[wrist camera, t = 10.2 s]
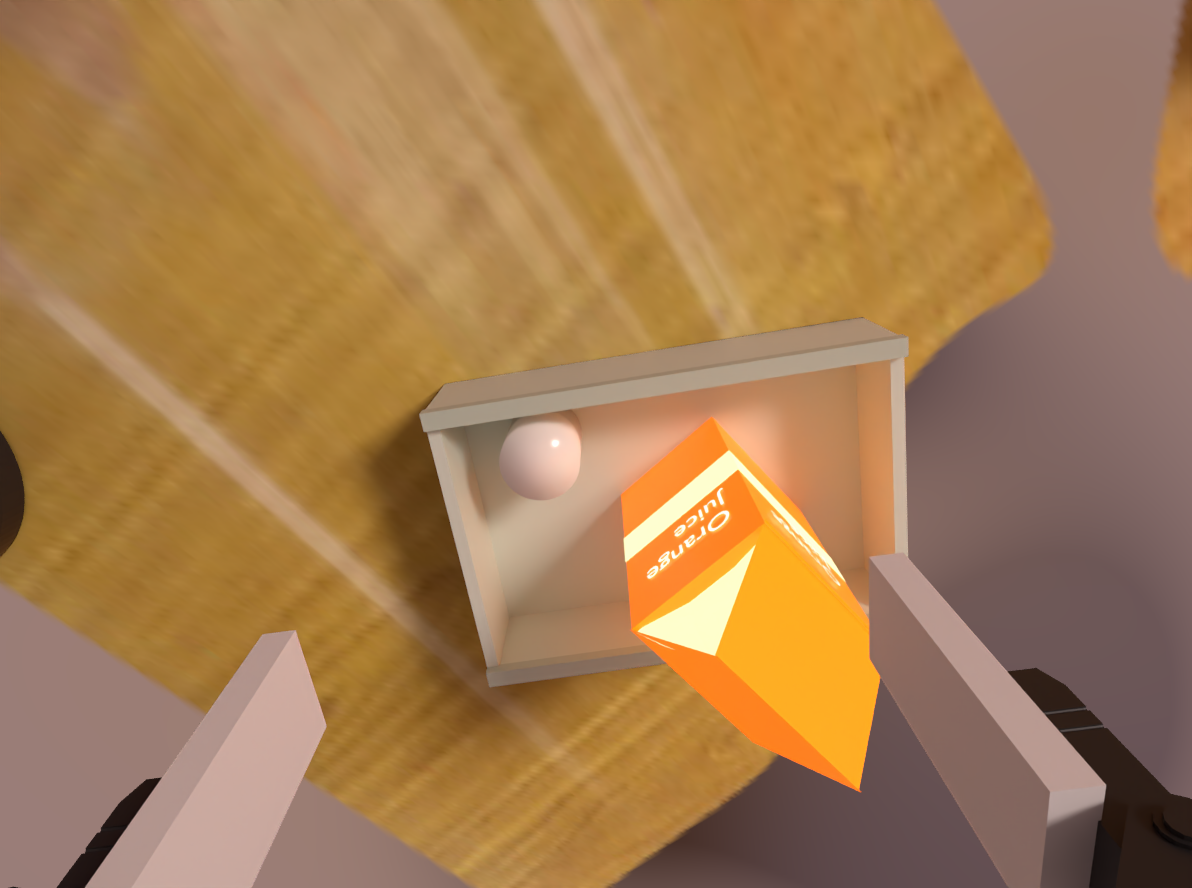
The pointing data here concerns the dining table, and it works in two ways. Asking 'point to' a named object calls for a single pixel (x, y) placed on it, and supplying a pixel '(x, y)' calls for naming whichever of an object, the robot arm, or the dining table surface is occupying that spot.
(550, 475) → the pink rounded egg
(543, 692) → the dining table surface
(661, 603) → the orange juice
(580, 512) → the tote
